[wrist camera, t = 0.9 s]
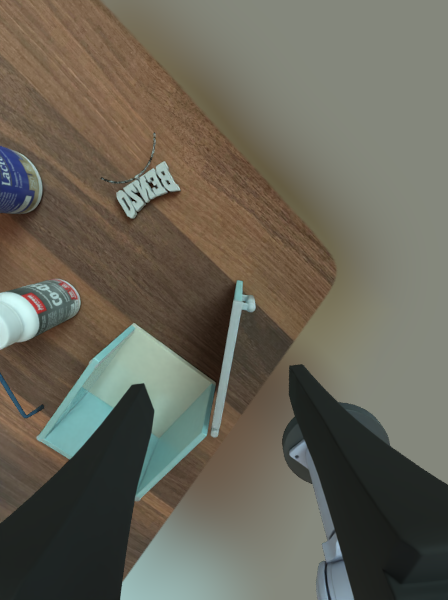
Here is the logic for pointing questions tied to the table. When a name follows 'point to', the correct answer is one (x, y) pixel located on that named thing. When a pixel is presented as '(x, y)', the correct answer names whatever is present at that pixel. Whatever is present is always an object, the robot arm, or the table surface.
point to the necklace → (145, 188)
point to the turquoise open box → (163, 394)
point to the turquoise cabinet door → (231, 347)
